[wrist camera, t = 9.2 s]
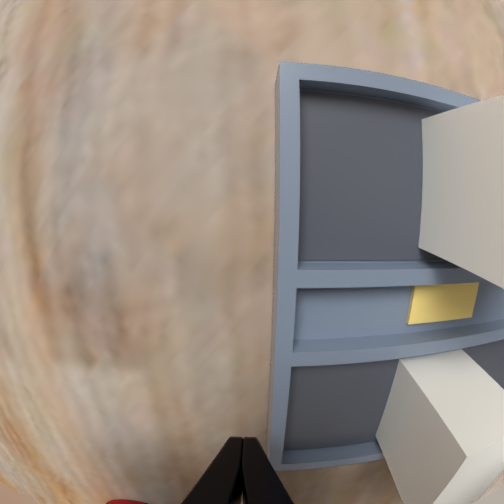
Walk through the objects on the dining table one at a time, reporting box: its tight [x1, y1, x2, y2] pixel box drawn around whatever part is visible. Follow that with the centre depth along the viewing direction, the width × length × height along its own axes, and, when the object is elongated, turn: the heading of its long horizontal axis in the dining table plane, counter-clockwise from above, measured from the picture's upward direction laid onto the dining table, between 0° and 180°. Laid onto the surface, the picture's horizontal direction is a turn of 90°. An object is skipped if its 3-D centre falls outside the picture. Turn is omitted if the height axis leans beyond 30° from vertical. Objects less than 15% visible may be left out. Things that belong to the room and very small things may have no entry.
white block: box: [375, 349, 504, 504], centre depth 7 cm, size 3×4×5 cm
